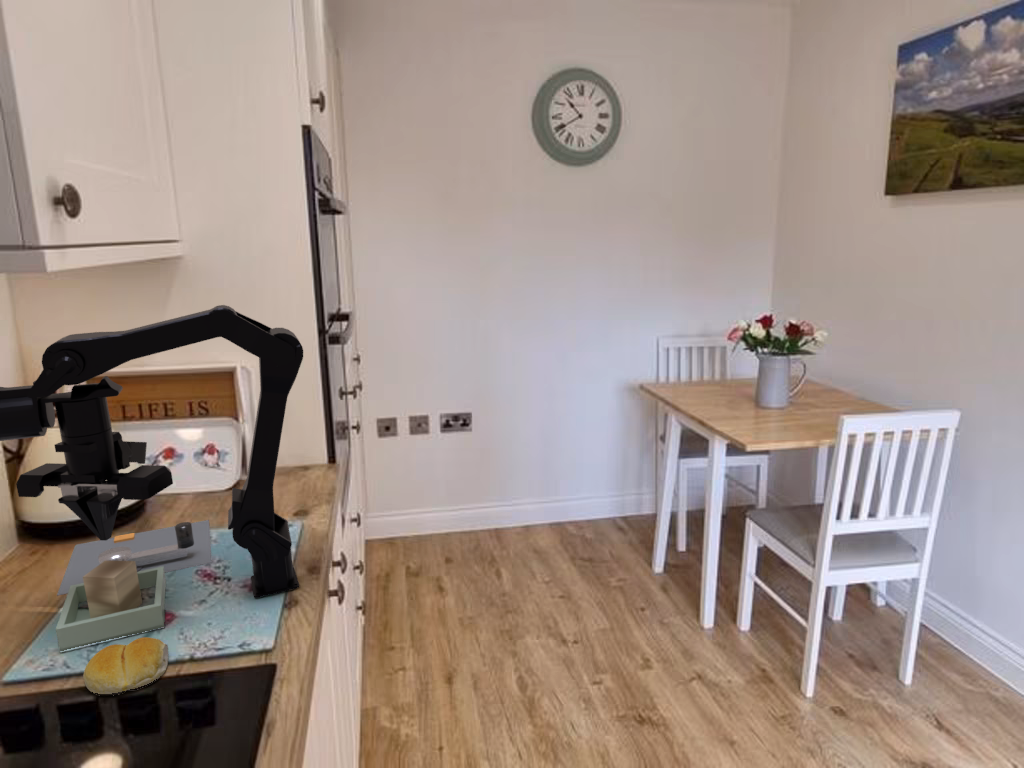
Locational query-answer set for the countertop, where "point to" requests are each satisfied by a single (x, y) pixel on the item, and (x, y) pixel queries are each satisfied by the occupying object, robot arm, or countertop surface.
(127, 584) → the block
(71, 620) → the tray
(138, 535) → the crank base
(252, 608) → the countertop surface
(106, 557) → the crank
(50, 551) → the countertop surface
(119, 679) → the bread roll
